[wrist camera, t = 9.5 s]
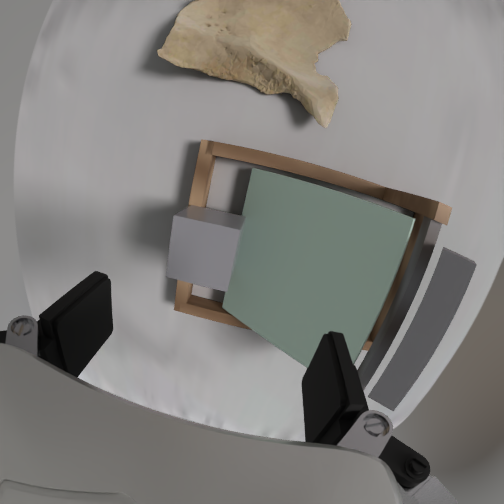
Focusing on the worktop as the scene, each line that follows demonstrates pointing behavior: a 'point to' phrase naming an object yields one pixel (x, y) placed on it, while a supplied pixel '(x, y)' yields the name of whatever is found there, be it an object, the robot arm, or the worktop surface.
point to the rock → (262, 45)
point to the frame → (426, 210)
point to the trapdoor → (334, 276)
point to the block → (204, 247)
